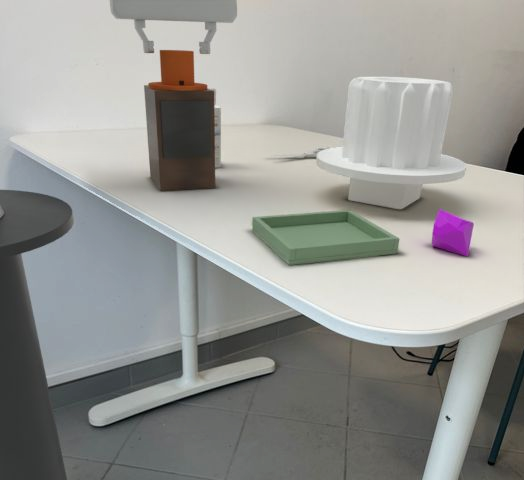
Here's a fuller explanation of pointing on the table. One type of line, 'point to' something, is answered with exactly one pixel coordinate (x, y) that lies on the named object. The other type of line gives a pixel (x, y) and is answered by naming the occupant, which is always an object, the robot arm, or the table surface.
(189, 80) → the hat
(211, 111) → the cabinet
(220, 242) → the table surface
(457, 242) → the crystal
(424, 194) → the table surface
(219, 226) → the table surface
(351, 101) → the flanged gear
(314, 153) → the scissors
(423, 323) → the table surface
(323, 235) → the tray
